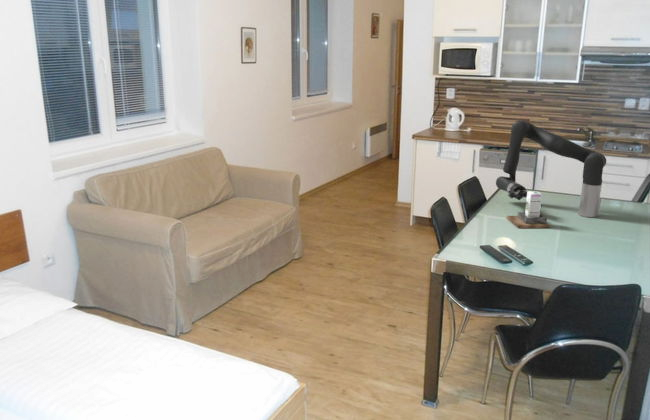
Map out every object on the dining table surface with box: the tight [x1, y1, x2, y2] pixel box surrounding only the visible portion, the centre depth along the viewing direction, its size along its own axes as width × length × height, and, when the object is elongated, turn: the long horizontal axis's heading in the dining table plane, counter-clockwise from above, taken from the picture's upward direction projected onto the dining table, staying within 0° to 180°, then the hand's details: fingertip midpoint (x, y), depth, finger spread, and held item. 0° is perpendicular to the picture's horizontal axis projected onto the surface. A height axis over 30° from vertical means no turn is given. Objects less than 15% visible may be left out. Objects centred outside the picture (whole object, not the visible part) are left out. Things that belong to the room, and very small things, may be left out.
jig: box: [506, 211, 551, 229], centre depth 291 cm, size 16×16×4 cm
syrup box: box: [524, 190, 543, 217], centre depth 290 cm, size 6×6×14 cm
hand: (528, 198), depth 296 cm, fingers open, 8 cm apart
